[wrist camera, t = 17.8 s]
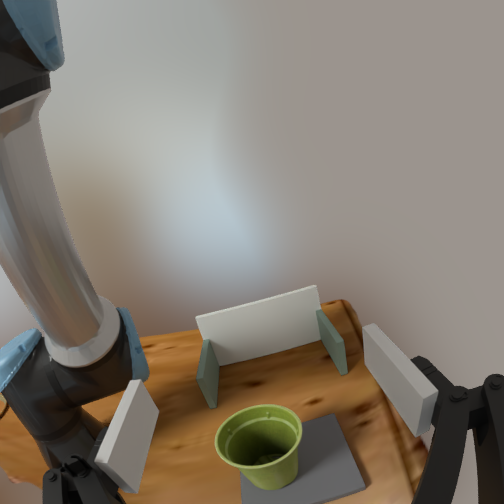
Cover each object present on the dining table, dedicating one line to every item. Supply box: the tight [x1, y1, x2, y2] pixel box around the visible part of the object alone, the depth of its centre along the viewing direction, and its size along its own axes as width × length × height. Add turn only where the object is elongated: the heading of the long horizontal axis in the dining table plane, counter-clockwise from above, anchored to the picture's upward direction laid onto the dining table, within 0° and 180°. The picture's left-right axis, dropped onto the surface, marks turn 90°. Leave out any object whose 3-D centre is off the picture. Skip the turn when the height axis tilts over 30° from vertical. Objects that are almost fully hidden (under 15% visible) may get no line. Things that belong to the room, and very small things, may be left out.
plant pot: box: [215, 404, 302, 490], centre depth 26 cm, size 9×9×9 cm
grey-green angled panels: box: [196, 285, 348, 409], centre depth 50 cm, size 15×24×12 cm, turn 93°
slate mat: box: [240, 413, 366, 504], centre depth 28 cm, size 14×14×1 cm
